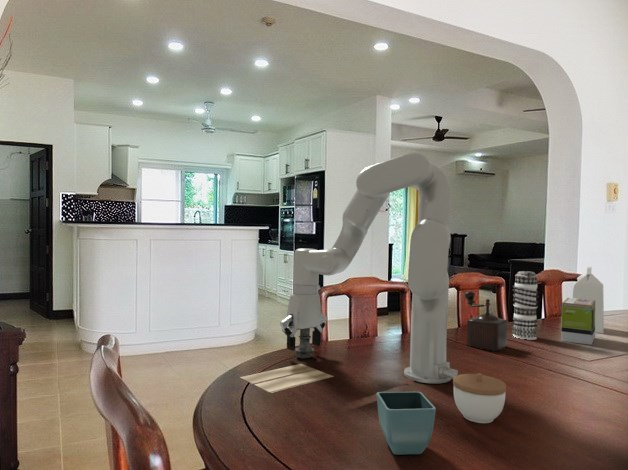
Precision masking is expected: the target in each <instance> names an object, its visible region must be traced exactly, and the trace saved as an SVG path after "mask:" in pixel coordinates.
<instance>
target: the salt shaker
mask: <svg viewBox="0 0 628 470" xmlns="http://www.w3.org/2000/svg"><path fill="white" fill-rule="evenodd" d="M310 334H311V328H308V329H301V330H299V336H298V338H299V344H298V346H297V347H295V350H294V351H295V355H296V356H297V358H300V359H302V360H303V359H306V360H307V359H309V358H311V357H312V356H313V354H314V352H315V348H313V347H312V346H311V341H310V340H311V339H312V335H310Z"/></svg>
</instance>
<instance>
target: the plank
mask: <svg viewBox="0 0 628 470" xmlns="http://www.w3.org/2000/svg"><path fill="white" fill-rule="evenodd" d="M333 377H334V375H331V374H329V373H326V372H324V371H322V370H321V371H320V370H318V369H315V370H311V371H307V372H302V373H298V374H294V375H290V376H286V377H282V378H278V379H273V380H269V381H265V382H261V383H257V384H254V385H255V386H256V387H258V388H260V389H262V390H264V391H266V392H267V393H270V394H272V393H276V392H279V391H283V390H287V389H292V388H294V387H295V388H296V387H300V386H303V385H307V384H310V383H314V382H318V381H321V380H326V379H329V378H333ZM334 378H335V377H334Z"/></svg>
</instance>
